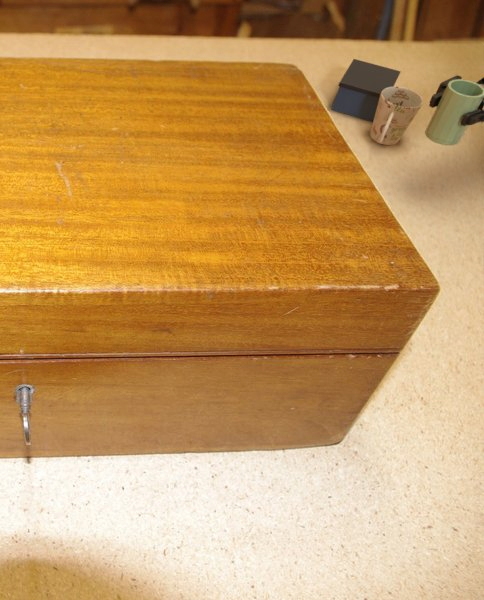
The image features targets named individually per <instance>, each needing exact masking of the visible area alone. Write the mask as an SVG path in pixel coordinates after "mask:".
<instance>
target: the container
mask: <svg viewBox="0 0 484 600" xmlns="http://www.w3.org/2000/svg"><path fill="white" fill-rule="evenodd" d="M400 75H401V70H397V69H395V68H394V69H393V68H390V67H386V66H382V65H378V64H375V63H371V62H368V61H364V60H361V59H356V58H353V59H352V61H351V63H350V64H349V66H348V68H347V69H346V71H345V73H344V74H343V76H342V78H341V79H340V81H339V82H338V85H337V86H338V90H337V93H336V96H335V98H334V101H333V104H332V106H331V110H332V111H335V112H338V113H341V114H345V115H349V116H352V117H354V118H357V119H361V120H365V121H369V122H371V123H373V121H374V117H375V113H376V109H377V106H378V102H379V98H380V95H381V92H382V91H383V90H384V89H385V88H388V87H395V84H396V83H397V81H398V79H399V76H400Z"/></svg>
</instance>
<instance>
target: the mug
mask: <svg viewBox="0 0 484 600" xmlns="http://www.w3.org/2000/svg"><path fill="white" fill-rule="evenodd" d="M423 104H424V98H423V97H422V96H421V94H419V93H418V92H417V91H415V90H413V89H410V88H407V87H404V86H393V87H388V88H385V89H384V90H383V91H382V92H381V95H380V98H379V102H378V106H377V109H376V113H375V117H374V121H373V122H372V125H371V128H370V132H369V136H370V138H371V139H372V140H373V141H374V142H376V143H377V144H381V145H386V146H394V145H396V144H398V142H399V141H400V140H401V138H402V137H403V135H404V134H405V132H406V130H407V129H408V127H409V126H410V125H411V123H412V122H413V120H414V118H415V117H416V115H417V114H418V112H419V111H420V109H421V107H422V106H423Z"/></svg>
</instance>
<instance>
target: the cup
mask: <svg viewBox="0 0 484 600" xmlns="http://www.w3.org/2000/svg"><path fill="white" fill-rule="evenodd" d="M483 98H484V88H483V87H482V86H481V85H479V84H477V83H476V82H475V81H472V80H468V79H457V80H452V81H450V82H449V83H448V85H447V87H446V89H445V91H444V93H443V95H442V97H441V99H440V102H439V104H438V106H436V107H435V110H434V112H433V114H432V116H431V119H430V121H428V124H427V127H426V129H425V130H424V134H425V136H426V138H427V139H428V140H430V141H431V142H433V143H435V144H439V145H442V146H449V147H450V146H455V145H456V146H457V145H458V144H459V143H460V142H461V140H462V139H463V137H464V136H465V134H466V131H467V129H468V128H469V126H470V125H466V126H463V125H461V124H460V123H461V121H462V119H463V117H464V116H465V115H466V114H467V113H470V112H472V111H475V110H477V109H478V107H479V105H480V103H481V101H482V99H483Z"/></svg>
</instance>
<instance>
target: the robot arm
mask: <svg viewBox="0 0 484 600" xmlns="http://www.w3.org/2000/svg"><path fill="white" fill-rule="evenodd" d="M462 78H463V77H462V76H461V75H454V76H452V77H450V78H447V79H446V80H444V81H442V82H440V83H439V85H438V88H437V90H436V91H435V93H433V95H432V96H431V98H430V100H429V105H428V106H429V107H431V108H432V109H434V108H437V106H438V104H439V102H440V99H441V97H442V95H443V93H444V91H445V89H446V87H447V85H448V83H449V82H450V81H452V80H457V79H461V80H463V79H462ZM475 83H477V84H479V85H481V86H482V87H483V88H484V76H483V77H482V78H481V79H479V80H477V81H476V82H475ZM483 123H484V98H483V99H482V101H481V103H480V105H479V107H478V109H477V110H475V111H472V112H470V113H467V114H466V115H465V116H464V117H463V119H462V121H461V123H460V124H461V125H463V126H466V125H469V126H473V125H476V124H483Z"/></svg>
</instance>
